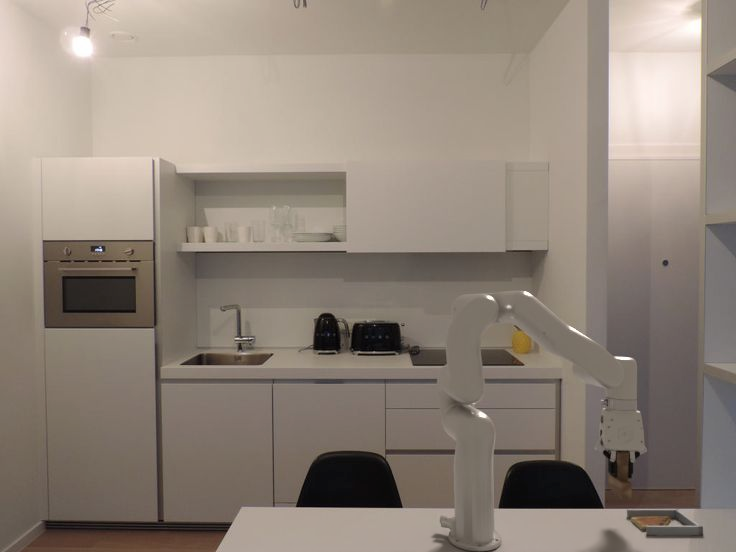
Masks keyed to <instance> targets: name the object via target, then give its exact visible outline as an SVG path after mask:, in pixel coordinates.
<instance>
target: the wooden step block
mask: <svg viewBox="0 0 736 552" xmlns="http://www.w3.org/2000/svg"><path fill="white" fill-rule="evenodd" d="M615 459H616V462H617V478H614V477H612V476H611V475H610V473H609V472H608V485H607V486H608V489H610V490H611V491H612V492H613V493H614V494H615V495H616V496H617V497H618V498H619V499H620V500H627V501H628V500H629V501H630V500H632V488H633V485H632V482H631V481H629V478H628V464H629V452H627V451H616V457H615Z"/></svg>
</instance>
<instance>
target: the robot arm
mask: <svg viewBox="0 0 736 552" xmlns="http://www.w3.org/2000/svg"><path fill="white" fill-rule="evenodd" d="M450 309H451V316H452V318H453V319H452V320H451V322H450V324H449V326H448V328H447V330H446V335H445V355H446V356H445V357H446V364H444V365H443V366H442V367H441V368H440V370H439V372H438V374H437V379H436V389H437V390H436V391H437V398H438V406H439V407H438V408H439V413H440V414H439V415H440V420H441V425H442V428H443V430H444V432H445V433H446V434H447V435H448V436H449V437H450V438H451V439H453V440H454V441H455V443H456V444H455V451H454V458H453V482H454V483H453V491H454V495H453V496H454V497H453V498H454V516H452V517H450V516H446V515H440V517H439V524H440V527H441V528H445V529H449V530H450V531H449V532H448V541H449V542H450V543H451V544H452V545H453V546H454V547H456V548H459V549H461V550H465V551H471V552H487V551H491V550H496V549H498V547H500V545H501V544H502V536H501V534H500V533H499V532H498V531H496V530H495V494H494V493H495V489H494V485H495V483H494V452H495V446H496V445H495V444H496V440H497V439H496V437H497V433H496V432H497V431H496V428H495V425H494V422H493V420H492V419H491V417H489V415H488V414H486V413H485V412H483V411H482V410H480V409H478V408H476V407H475V404H477V403H479V402H481V401H482V400H483V397H484V396H485V392H486V381H485V376H484V375H485V374H484V367H483V360H482V349H481V346H482V339H483V336H484V334H485V332H486V331H487V329H489V327H490V326H492V325H498V324H507V323H508V324H513V325H514V326H516V327H517V328H519V330H521V331H522V332H524V334H525V335H526V336H528V337H529V338H530V339H531V340H533V341H534V342H535V343H536V344H537V345H539V346H540V348H542V349H543V350H545V351H547V352H549V353H550V354H552V355H555V356H556V357H560V358H562V359H565V360H567V361H569V362H571V363H572V366H571V367H572V368H571V369H572V373H573V376H574V377H575V378H576V379H577V380H578V381H579V382H581V383H583V384H586V385H589V386H596V387H600V388H602V389H603V388H604V391H605V392H604V397H603V399H600V400H599V405H601V406H604V408H602V410H601V415H600V419H599V420H600V421H599V428H598V429H599V430H598V439H597V441H596V444H595V445H594V447H593V448H594V449H595V451H598V452H599V453H600V454H602V455H603V456H604V457H605V458H606V459H607V462H608V464H607V472H608V474H609V473H610V475H611V476H612V477H614V478H617V462H616V459H615V457H616V451H627V452H629V464H628V479H632V478H633V476H632V475H633V474H634V464H635V462H636V460H637V459H638V458H639V457H641V455H643V454H645V453H648V448H647V447H646V445H645V432H644V425H643V418H642V414H641V411H640V410H638V394H637V393H638V364H637V361H636V359H634V358H633V357H627V356H617V355H615V356H614V355H613V354H612V353H610V352H609V351H608V350H607V349H605V348H604V346H602V345H600V344H599V343H598V342H596V341H594V340H593V339H591V338H590V337H588V336H586V335H585V334H583V333H582V332H580V331H579V330H576V329H575V328H574V327H572V326H571V325H569V324H567V323H566V322H565V321H564V320H562V319H561V318H560V317H558V316H557V315H556V314H555V313H554V312H553V311H552V310H551V309H549V308H548V307H547V306H546V305H545V304H544V303H542V302H541V301H540V300H539V299H538V298H537V297H535V296H534V295H533V294H531V293H529V292H528V291H524V290H508V291H506V290H504V291H498V292H488V293H487V292H485V293H471V294H469V293H468V294H462V295H460V296H458V297H457V298H456V299H454V301H453V302H452V305H451V308H450ZM603 447H604V448H603Z"/></svg>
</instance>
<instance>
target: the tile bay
mask: <svg viewBox="0 0 736 552" xmlns="http://www.w3.org/2000/svg"><path fill="white" fill-rule="evenodd" d="M640 516H658V517H659V516H671V518H670V519H675V518H676V519H677V520H678V521H679V522H681V523H682V524H683V525H666V526H646V530H645V532H646V533H645V534H646V535H647V536H703V535H704V526H702V525H701V524H700V523H698V522H696V521H695V520H694V519H693V518H691V517H690V516H688V515H687V514H686V513H685V512H683V511H681V510H680V509H678V508H634V509H633V508H629V509H628V508H626V517H627V518H629V519H631V518H632V517H640Z"/></svg>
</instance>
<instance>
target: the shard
mask: <svg viewBox="0 0 736 552" xmlns="http://www.w3.org/2000/svg"><path fill="white" fill-rule="evenodd" d="M671 519H672V518H671V516H659V517H658V516H640V517H632V518H630V522H631V523H633V524H635V526H637V527H638V528H639V529H640V530H642V531H644V530H645V531H646V526H668V524H669V523H670V522H671Z"/></svg>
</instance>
